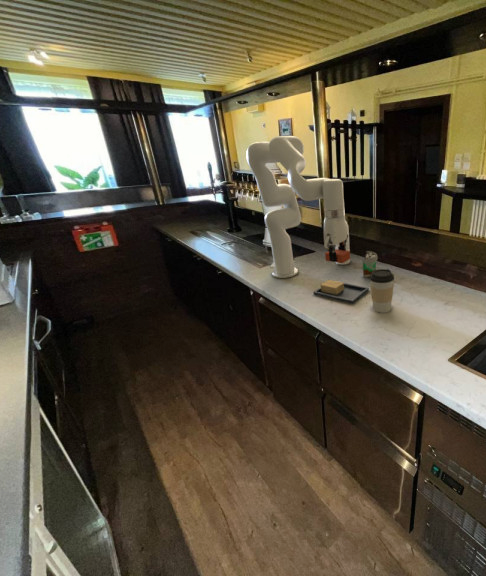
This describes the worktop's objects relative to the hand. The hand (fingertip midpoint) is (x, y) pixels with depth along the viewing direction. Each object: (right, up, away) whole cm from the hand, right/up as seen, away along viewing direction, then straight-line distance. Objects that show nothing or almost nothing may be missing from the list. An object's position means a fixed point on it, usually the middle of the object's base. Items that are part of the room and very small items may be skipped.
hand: (337, 258), depth 122 cm
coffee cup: (+17, -20, -6) cm, 27 cm away
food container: (+15, -6, +24) cm, 29 cm away
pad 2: (-3, -13, +9) cm, 16 cm away
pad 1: (0, 0, 0) cm, 1 cm away
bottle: (+1, +2, +42) cm, 42 cm away
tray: (+1, -14, +7) cm, 16 cm away
